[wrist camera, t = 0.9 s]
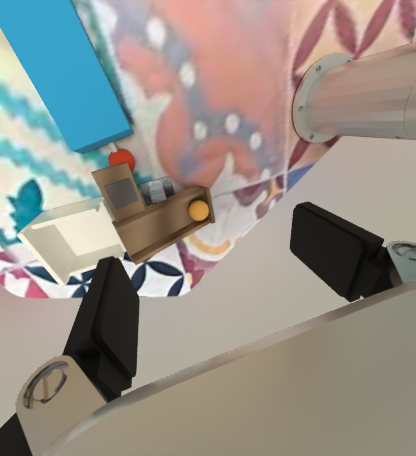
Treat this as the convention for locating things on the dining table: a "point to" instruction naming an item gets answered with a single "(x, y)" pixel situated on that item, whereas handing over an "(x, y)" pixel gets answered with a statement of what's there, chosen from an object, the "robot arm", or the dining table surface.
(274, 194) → the dining table surface
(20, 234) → the box
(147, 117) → the dining table surface
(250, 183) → the dining table surface
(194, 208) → the ball
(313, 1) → the dining table surface
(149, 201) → the stand
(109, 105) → the lever
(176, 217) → the brown shallow tray
